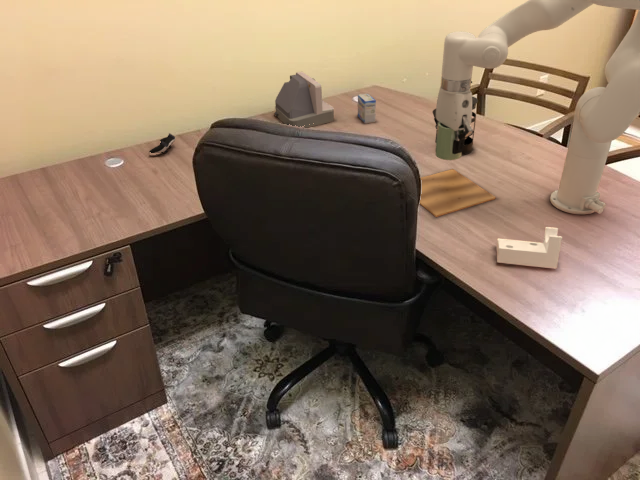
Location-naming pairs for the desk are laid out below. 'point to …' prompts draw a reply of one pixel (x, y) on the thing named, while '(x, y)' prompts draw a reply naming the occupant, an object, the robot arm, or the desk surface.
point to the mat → (450, 193)
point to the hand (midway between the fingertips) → (449, 147)
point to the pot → (446, 143)
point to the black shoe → (163, 145)
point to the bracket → (531, 250)
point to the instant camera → (302, 102)
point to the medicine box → (366, 108)
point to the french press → (469, 141)
